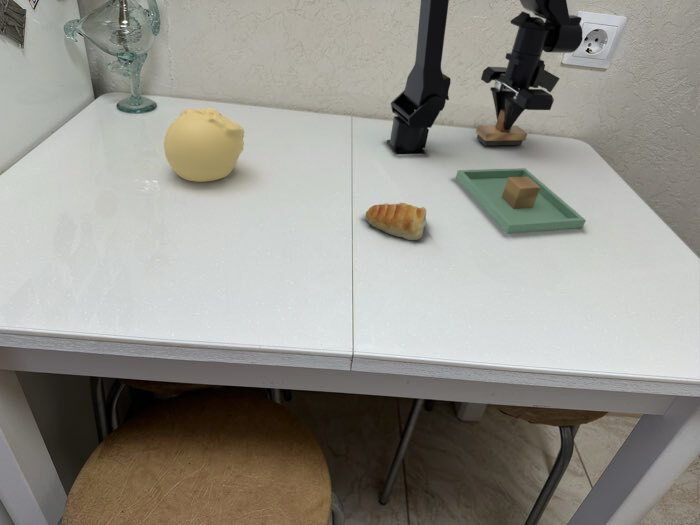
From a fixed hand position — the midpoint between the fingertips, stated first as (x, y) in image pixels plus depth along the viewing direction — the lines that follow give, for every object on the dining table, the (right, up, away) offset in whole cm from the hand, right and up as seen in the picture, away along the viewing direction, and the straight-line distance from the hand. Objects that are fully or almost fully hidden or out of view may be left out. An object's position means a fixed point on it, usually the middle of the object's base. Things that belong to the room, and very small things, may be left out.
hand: (503, 127), depth 106 cm
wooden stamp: (0, -3, +2) cm, 3 cm away
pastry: (-26, -24, -30) cm, 46 cm away
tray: (-4, -19, -19) cm, 28 cm away
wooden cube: (-4, -19, -20) cm, 28 cm away
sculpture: (-58, -14, -23) cm, 64 cm away
